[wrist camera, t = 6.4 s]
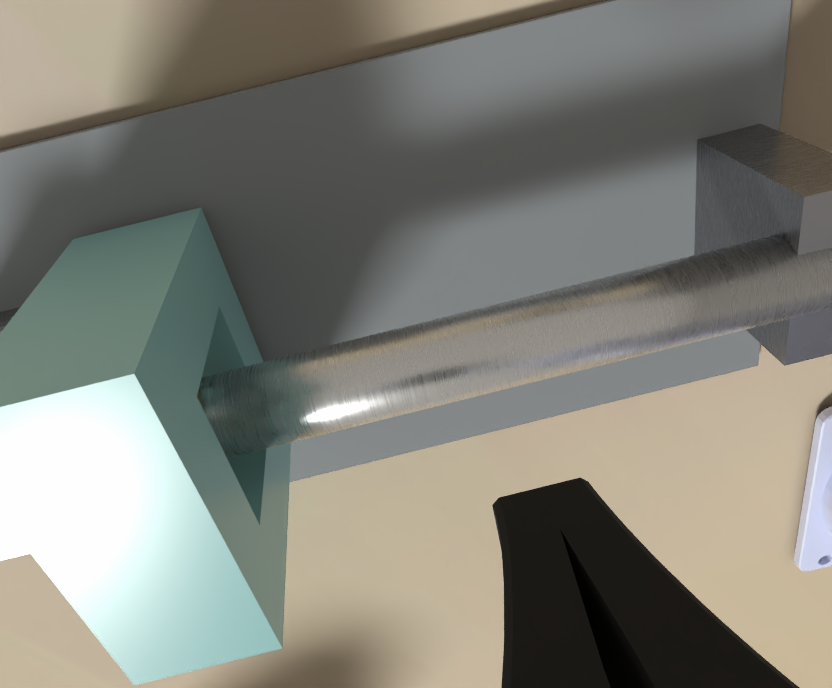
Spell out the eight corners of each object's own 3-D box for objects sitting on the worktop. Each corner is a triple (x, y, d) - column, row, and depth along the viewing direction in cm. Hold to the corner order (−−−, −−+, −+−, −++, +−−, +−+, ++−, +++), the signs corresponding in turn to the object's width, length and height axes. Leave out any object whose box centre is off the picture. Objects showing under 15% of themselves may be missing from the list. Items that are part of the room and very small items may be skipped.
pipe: (753, 120, 17) (907, 185, 12) (744, 263, 19) (871, 361, 14) (-17, 311, 16) (-131, 444, 12) (62, 432, 19) (-12, 581, 14)
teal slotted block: (201, 207, 15) (134, 374, 9) (291, 430, 19) (282, 648, 13) (73, 239, 15) (-72, 424, 9) (188, 456, 19) (134, 685, 13)
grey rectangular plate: (786, -45, 15) (795, -44, 14) (752, 360, 21) (758, 365, 20) (-127, 181, 15) (-135, 186, 14) (101, 521, 20) (99, 529, 20)
